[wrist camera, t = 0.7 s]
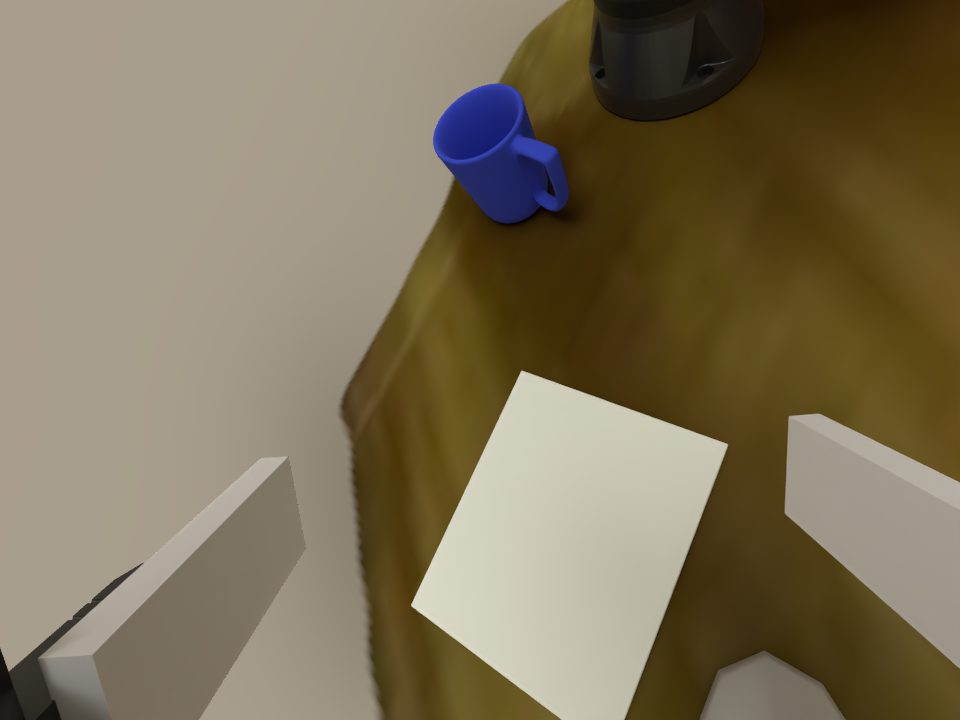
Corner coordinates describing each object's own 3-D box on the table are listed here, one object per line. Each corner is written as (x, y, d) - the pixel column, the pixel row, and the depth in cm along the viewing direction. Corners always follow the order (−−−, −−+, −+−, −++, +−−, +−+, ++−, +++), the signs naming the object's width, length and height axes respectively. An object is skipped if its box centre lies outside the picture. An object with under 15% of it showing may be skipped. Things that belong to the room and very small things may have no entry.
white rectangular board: (524, 373, 41) (521, 370, 41) (727, 446, 33) (727, 444, 32) (416, 605, 38) (410, 605, 37) (612, 752, 29) (609, 756, 29)
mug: (554, 262, 44) (515, 189, 36) (465, 217, 51) (415, 147, 42) (608, 191, 45) (582, 102, 36) (513, 156, 51) (472, 75, 43)
